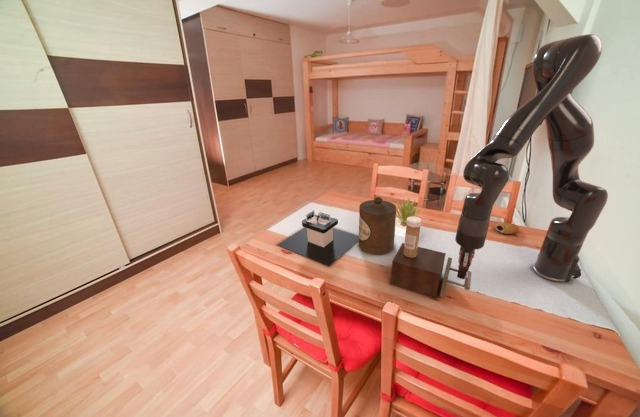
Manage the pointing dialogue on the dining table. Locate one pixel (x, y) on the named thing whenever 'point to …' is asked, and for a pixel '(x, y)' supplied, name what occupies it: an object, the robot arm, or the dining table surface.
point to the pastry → (506, 228)
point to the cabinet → (418, 271)
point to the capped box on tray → (320, 239)
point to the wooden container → (377, 226)
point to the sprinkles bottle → (412, 236)
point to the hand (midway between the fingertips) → (460, 277)
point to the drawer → (445, 281)
